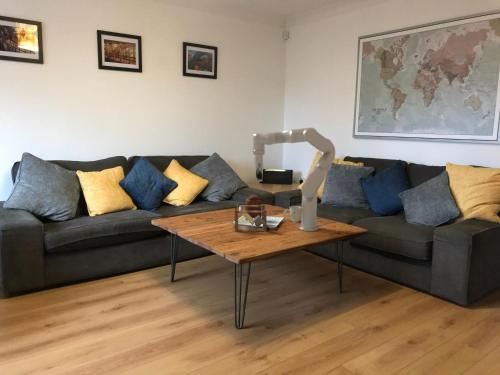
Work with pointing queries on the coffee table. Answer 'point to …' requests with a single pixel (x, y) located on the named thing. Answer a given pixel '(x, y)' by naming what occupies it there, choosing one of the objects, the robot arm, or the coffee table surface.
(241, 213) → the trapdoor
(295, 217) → the mug
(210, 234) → the coffee table surface
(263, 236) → the coffee table surface
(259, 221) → the stone
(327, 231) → the coffee table surface
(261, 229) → the frame
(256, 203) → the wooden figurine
